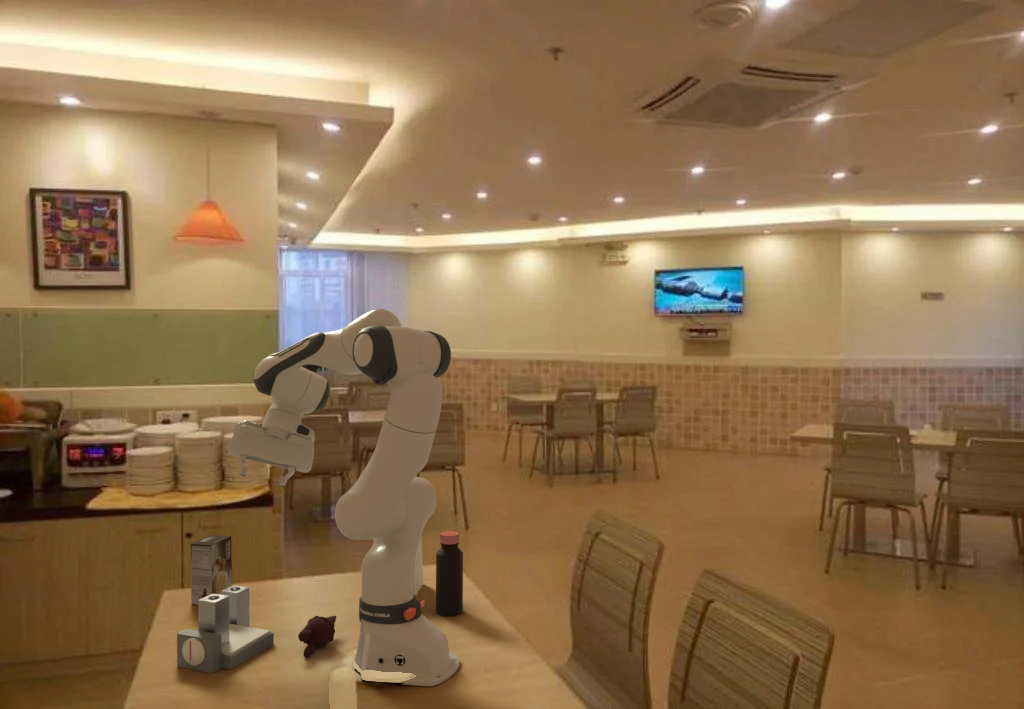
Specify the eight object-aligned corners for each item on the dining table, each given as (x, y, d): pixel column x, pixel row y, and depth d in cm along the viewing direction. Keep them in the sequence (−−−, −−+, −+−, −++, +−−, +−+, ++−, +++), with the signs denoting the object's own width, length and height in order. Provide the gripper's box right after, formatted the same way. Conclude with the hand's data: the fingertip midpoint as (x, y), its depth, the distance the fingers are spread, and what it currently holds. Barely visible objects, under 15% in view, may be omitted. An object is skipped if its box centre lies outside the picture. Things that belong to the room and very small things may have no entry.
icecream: (317, 604, 177) (283, 634, 163) (345, 599, 175) (312, 629, 161) (325, 632, 177) (291, 664, 163) (353, 628, 175) (321, 660, 161)
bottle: (431, 609, 192) (432, 531, 191) (456, 605, 195) (457, 528, 194) (441, 618, 186) (442, 538, 185) (466, 614, 189) (467, 535, 188)
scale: (273, 643, 170) (273, 613, 170) (219, 676, 153) (219, 642, 153) (223, 635, 174) (223, 605, 174) (165, 665, 158) (165, 633, 158)
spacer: (249, 629, 178) (249, 586, 178) (236, 636, 174) (236, 592, 174) (234, 626, 180) (234, 584, 180) (221, 633, 176) (221, 590, 175)
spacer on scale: (229, 641, 163) (229, 595, 163) (215, 649, 159) (215, 602, 159) (213, 638, 164) (212, 593, 164) (198, 646, 160) (198, 599, 160)
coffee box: (211, 593, 203) (211, 534, 203) (232, 595, 202) (232, 535, 201) (190, 605, 194) (190, 543, 194) (212, 607, 193) (212, 544, 192)
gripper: (237, 413, 183) (216, 465, 176) (320, 432, 185) (303, 484, 178) (239, 424, 188) (219, 474, 181) (320, 443, 191) (304, 493, 183)
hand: (262, 479), depth 179 cm, fingers open, 8 cm apart
